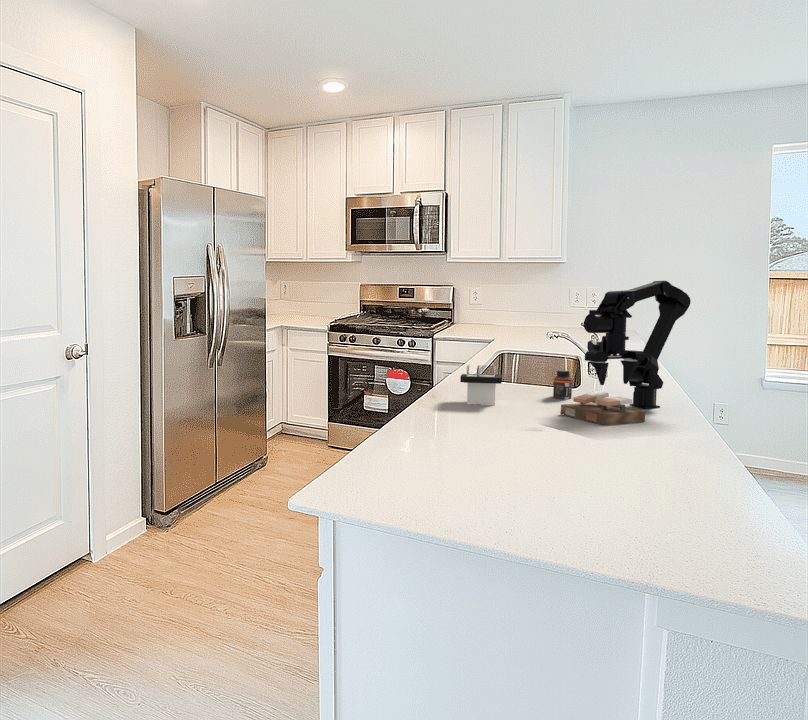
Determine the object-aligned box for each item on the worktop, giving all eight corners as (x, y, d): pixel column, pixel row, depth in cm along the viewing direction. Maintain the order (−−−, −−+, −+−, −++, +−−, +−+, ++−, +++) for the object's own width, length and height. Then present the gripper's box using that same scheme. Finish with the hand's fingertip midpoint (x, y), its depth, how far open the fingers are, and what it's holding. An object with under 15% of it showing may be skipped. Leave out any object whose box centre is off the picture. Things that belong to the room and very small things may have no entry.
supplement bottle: (572, 406, 193) (573, 371, 192) (553, 405, 194) (554, 371, 193) (570, 403, 199) (571, 370, 198) (552, 402, 200) (553, 369, 199)
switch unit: (599, 411, 182) (600, 395, 182) (644, 421, 166) (645, 404, 166) (559, 414, 176) (560, 397, 176) (602, 425, 160) (603, 407, 159)
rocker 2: (617, 403, 171) (618, 396, 171) (633, 406, 166) (633, 399, 166) (593, 406, 167) (593, 399, 167) (608, 409, 162) (608, 402, 162)
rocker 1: (596, 397, 179) (595, 390, 179) (610, 399, 174) (609, 392, 174) (573, 404, 176) (572, 397, 175) (586, 407, 171) (585, 400, 170)
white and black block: (523, 402, 200) (524, 363, 199) (526, 415, 174) (528, 370, 173) (441, 399, 204) (442, 361, 203) (432, 411, 179) (433, 368, 178)
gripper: (619, 331, 188) (617, 380, 189) (573, 332, 180) (571, 382, 181) (646, 333, 178) (644, 384, 179) (598, 333, 170) (596, 387, 171)
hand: (613, 384), depth 178 cm, fingers open, 9 cm apart
